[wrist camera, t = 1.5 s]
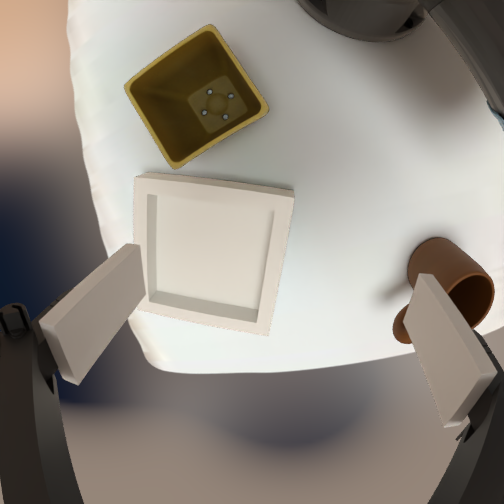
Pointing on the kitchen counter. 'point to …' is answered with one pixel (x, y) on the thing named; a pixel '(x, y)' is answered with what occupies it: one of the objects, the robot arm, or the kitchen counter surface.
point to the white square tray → (211, 249)
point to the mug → (450, 282)
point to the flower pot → (194, 96)
